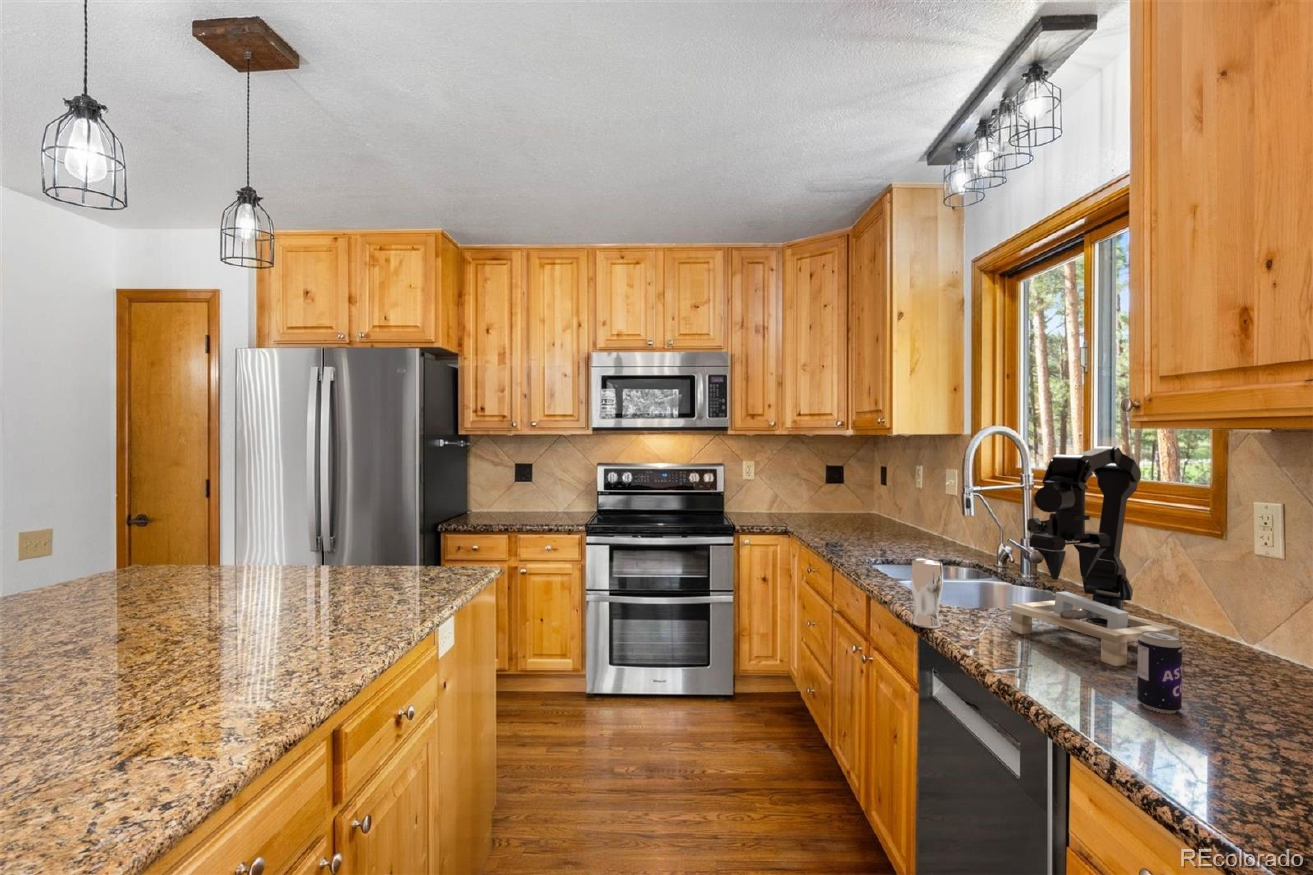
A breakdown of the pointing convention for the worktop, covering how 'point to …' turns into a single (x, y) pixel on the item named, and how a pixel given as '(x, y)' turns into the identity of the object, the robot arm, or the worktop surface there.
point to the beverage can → (1159, 672)
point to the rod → (1080, 614)
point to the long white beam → (1091, 609)
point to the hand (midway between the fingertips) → (1069, 578)
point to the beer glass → (927, 592)
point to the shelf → (1088, 628)
